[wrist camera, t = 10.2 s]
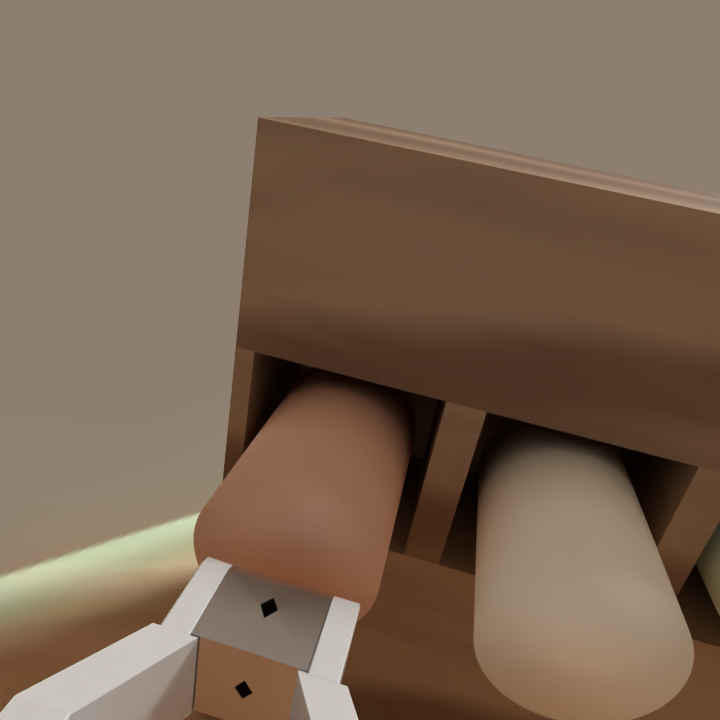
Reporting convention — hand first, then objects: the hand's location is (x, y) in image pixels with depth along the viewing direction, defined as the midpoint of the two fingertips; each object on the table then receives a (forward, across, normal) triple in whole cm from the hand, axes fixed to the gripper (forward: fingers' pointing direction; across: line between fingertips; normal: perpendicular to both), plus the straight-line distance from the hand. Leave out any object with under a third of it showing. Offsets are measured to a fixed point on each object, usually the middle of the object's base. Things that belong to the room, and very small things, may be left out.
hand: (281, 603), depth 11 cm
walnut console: (+9, -6, +12) cm, 16 cm away
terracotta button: (+4, 0, +2) cm, 5 cm away
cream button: (+4, -6, +2) cm, 7 cm away
